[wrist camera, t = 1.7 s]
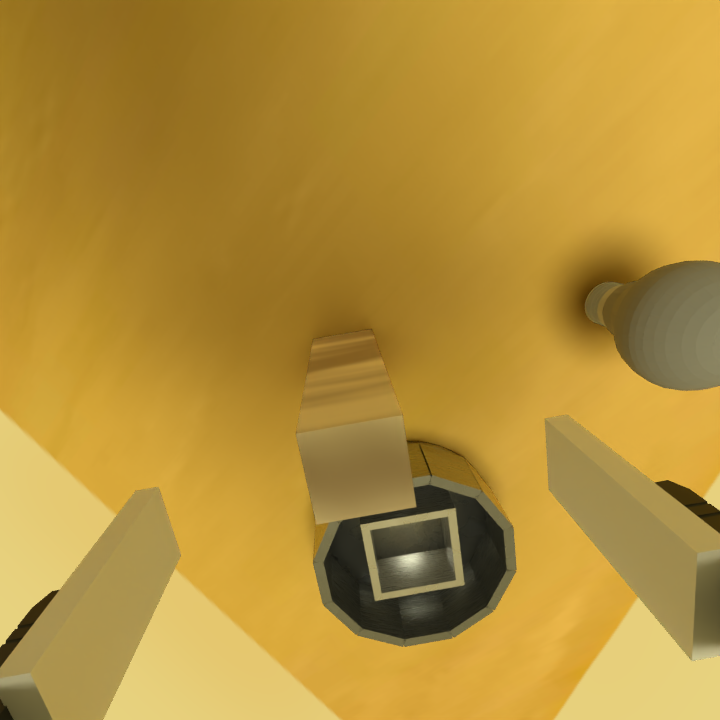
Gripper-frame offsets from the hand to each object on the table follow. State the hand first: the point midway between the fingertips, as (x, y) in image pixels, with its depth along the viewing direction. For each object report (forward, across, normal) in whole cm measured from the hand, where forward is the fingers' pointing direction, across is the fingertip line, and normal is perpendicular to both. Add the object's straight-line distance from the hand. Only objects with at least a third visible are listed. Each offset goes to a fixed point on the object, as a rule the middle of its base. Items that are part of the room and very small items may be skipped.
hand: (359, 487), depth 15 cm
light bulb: (+14, +16, +2) cm, 21 cm away
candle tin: (+14, +2, -11) cm, 18 cm away
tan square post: (+13, 0, +1) cm, 13 cm away
